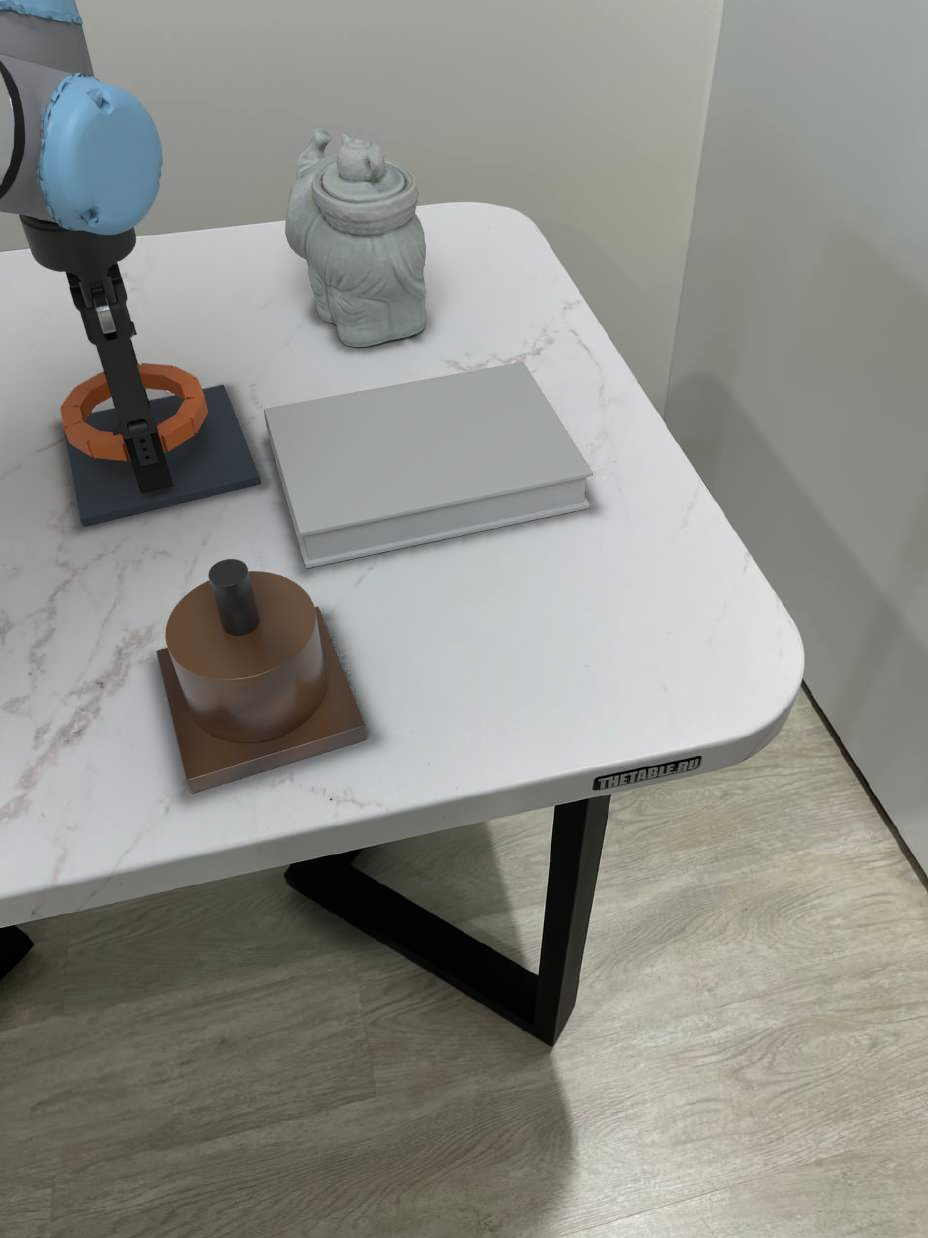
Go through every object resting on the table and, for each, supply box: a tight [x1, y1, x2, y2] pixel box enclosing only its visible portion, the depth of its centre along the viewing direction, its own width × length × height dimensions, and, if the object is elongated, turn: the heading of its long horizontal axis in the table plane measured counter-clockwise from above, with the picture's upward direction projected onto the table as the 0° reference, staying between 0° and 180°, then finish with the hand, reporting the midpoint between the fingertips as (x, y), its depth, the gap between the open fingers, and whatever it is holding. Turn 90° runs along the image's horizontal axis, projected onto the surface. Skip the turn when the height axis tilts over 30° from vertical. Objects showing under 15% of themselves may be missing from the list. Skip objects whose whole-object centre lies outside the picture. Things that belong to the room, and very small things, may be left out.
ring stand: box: [155, 558, 368, 794], centre depth 66 cm, size 12×12×12 cm
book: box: [263, 361, 594, 569], centre depth 87 cm, size 18×4×24 cm
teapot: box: [284, 127, 427, 348], centre depth 100 cm, size 16×15×19 cm
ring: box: [59, 362, 208, 461], centre depth 86 cm, size 12×12×2 cm
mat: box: [62, 384, 262, 527], centre depth 90 cm, size 15×15×1 cm
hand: (145, 445), depth 88 cm, fingers closed on ring, 11 cm apart
